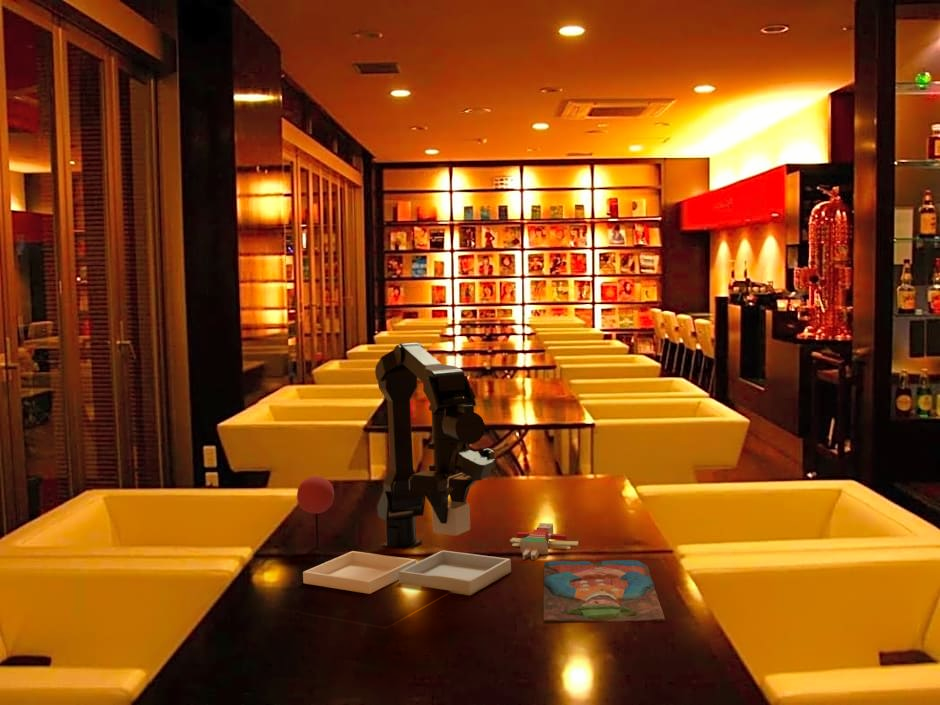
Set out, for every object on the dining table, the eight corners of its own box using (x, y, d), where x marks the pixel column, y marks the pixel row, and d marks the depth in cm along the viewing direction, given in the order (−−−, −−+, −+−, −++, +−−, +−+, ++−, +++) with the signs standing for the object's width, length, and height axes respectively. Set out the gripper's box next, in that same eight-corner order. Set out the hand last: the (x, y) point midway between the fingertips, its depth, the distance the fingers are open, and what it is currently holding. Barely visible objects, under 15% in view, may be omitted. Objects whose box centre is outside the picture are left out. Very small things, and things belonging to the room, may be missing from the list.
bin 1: (353, 563, 203) (352, 551, 202) (416, 572, 195) (416, 559, 195) (303, 585, 190) (302, 571, 189) (369, 595, 182) (369, 582, 182)
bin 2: (442, 562, 201) (442, 550, 200) (510, 571, 193) (510, 559, 193) (399, 584, 188) (398, 571, 187) (470, 595, 180) (469, 581, 180)
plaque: (647, 559, 193) (665, 613, 163) (648, 570, 193) (665, 626, 163) (543, 560, 195) (542, 614, 165) (544, 571, 195) (543, 626, 165)
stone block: (447, 526, 193) (446, 500, 193) (470, 529, 190) (469, 502, 190) (433, 533, 189) (432, 506, 188) (456, 535, 186) (455, 508, 186)
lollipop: (329, 552, 211) (325, 480, 210) (294, 551, 213) (290, 480, 212) (341, 542, 219) (338, 473, 218) (307, 541, 220) (304, 473, 219)
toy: (491, 547, 203) (513, 519, 216) (493, 565, 203) (514, 536, 217) (563, 551, 198) (580, 522, 211) (564, 570, 198) (581, 539, 212)
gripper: (458, 447, 176) (462, 536, 177) (510, 431, 192) (513, 512, 193) (405, 444, 182) (409, 530, 183) (460, 428, 198) (463, 507, 199)
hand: (451, 520), depth 189 cm, fingers closed on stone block, 5 cm apart
